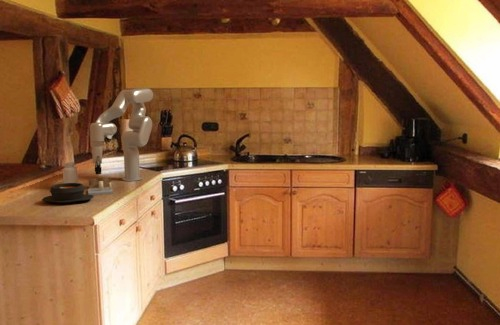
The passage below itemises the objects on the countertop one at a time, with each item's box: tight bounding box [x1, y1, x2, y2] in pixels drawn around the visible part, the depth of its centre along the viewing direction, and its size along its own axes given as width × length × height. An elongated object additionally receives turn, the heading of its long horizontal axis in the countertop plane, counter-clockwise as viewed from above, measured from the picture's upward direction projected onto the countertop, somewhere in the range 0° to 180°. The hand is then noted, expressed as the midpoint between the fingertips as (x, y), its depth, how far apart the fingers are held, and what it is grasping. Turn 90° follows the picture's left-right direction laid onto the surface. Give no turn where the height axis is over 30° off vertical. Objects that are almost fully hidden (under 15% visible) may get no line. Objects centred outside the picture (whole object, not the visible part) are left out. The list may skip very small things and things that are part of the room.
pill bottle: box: [62, 162, 79, 184], centre depth 256 cm, size 8×8×15 cm
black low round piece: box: [41, 182, 95, 205], centre depth 223 cm, size 25×19×8 cm
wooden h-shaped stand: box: [88, 177, 112, 189], centre depth 258 cm, size 12×6×5 cm, turn 112°
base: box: [87, 181, 114, 196], centre depth 245 cm, size 13×13×6 cm
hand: (98, 173), depth 256 cm, fingers open, 9 cm apart
